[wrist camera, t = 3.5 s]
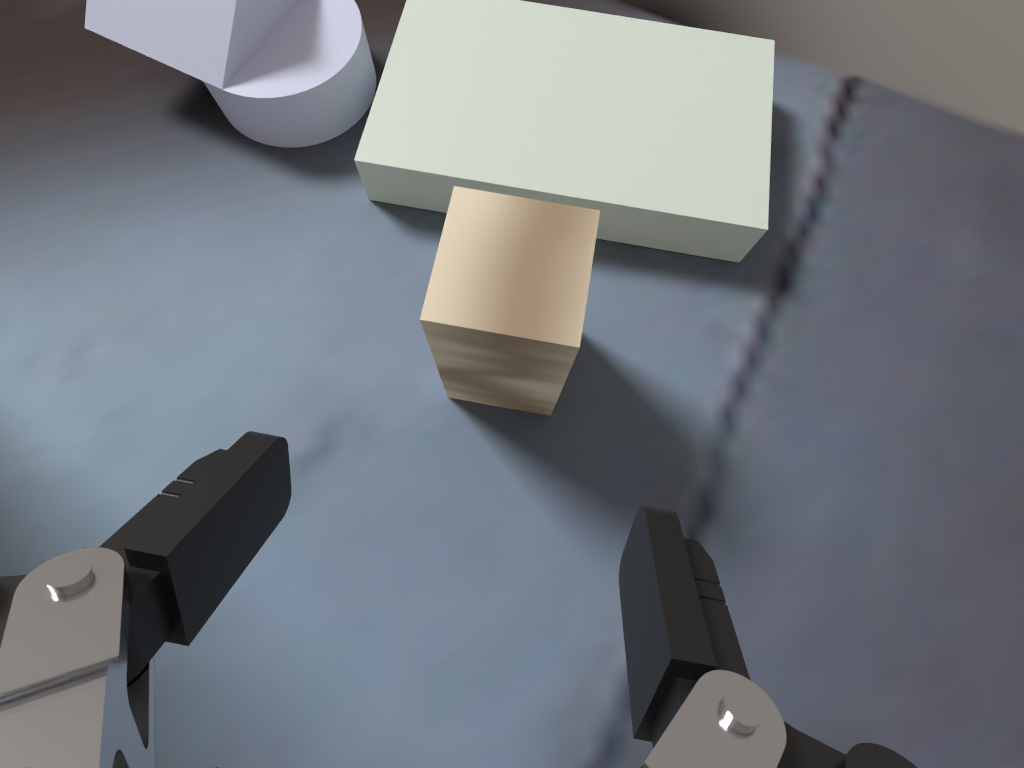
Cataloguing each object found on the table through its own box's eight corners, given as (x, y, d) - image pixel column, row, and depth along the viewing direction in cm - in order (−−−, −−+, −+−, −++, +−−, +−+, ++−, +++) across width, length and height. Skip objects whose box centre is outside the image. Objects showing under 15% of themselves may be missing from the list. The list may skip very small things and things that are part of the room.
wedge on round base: (129, 83, 29) (321, 171, 28) (26, -44, 23) (268, 61, 21) (224, -16, 32) (404, 60, 30) (154, -157, 25) (379, -68, 24)
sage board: (369, 199, 27) (354, 160, 24) (420, 35, 31) (412, -17, 28) (739, 262, 27) (767, 229, 24) (748, 87, 30) (774, 40, 27)
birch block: (448, 397, 24) (419, 319, 16) (469, 303, 26) (453, 186, 17) (550, 415, 24) (579, 347, 16) (566, 320, 26) (600, 210, 17)
